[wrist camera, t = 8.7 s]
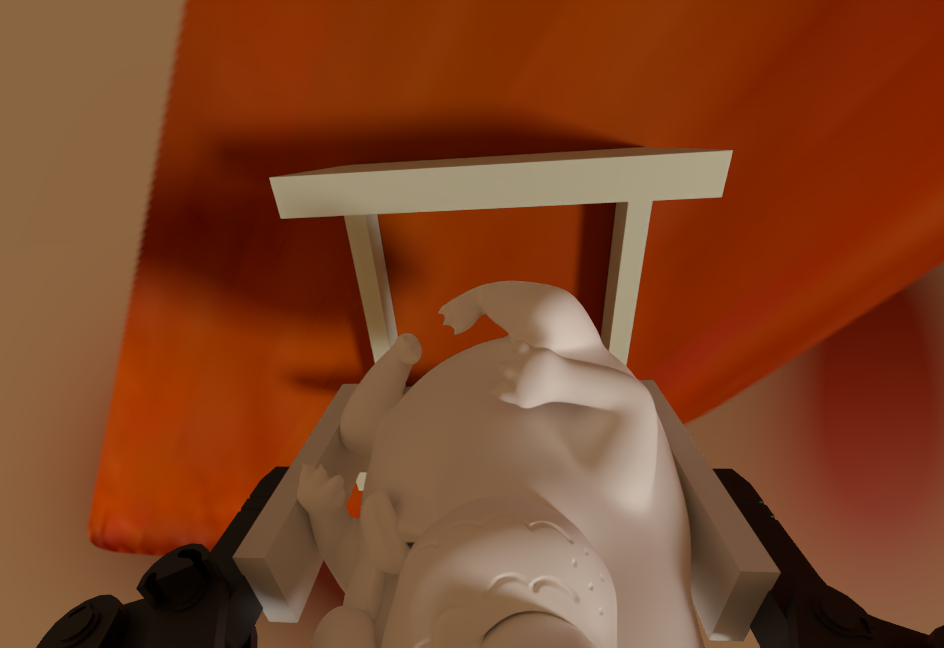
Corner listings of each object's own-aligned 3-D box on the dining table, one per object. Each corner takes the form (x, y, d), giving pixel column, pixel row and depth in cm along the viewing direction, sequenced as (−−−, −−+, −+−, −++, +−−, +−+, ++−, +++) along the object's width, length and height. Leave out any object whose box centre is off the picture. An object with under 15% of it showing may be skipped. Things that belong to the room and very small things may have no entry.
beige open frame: (347, 165, 21) (269, 177, 14) (645, 146, 19) (732, 150, 12) (393, 402, 28) (358, 490, 21) (609, 401, 27) (650, 494, 20)
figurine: (668, 414, 15) (1072, 1056, 5) (481, 498, 18) (459, 999, 8) (542, 220, 12) (901, 846, 1) (341, 362, 15) (-39, 894, 4)
